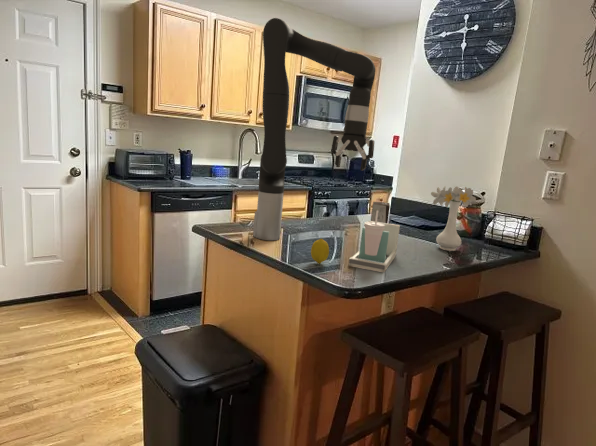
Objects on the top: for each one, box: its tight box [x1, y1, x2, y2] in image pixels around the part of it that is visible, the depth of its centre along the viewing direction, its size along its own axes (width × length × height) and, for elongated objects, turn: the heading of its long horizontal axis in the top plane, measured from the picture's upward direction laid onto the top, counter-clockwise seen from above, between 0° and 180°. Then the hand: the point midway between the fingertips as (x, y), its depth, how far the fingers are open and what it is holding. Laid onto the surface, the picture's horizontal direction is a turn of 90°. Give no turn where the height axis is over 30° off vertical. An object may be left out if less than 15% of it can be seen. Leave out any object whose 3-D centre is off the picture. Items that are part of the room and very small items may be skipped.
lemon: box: [310, 238, 330, 265], centre depth 131 cm, size 6×6×8 cm
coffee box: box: [370, 201, 391, 224], centre depth 164 cm, size 9×6×16 cm
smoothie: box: [363, 210, 385, 256], centre depth 133 cm, size 6×6×14 cm
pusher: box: [358, 227, 389, 263], centre depth 137 cm, size 8×1×10 cm, turn 69°
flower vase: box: [430, 185, 477, 252], centre depth 166 cm, size 13×18×25 cm
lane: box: [348, 220, 401, 273], centre depth 140 cm, size 11×23×11 cm, turn 159°
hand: (349, 168), depth 146 cm, fingers open, 8 cm apart
